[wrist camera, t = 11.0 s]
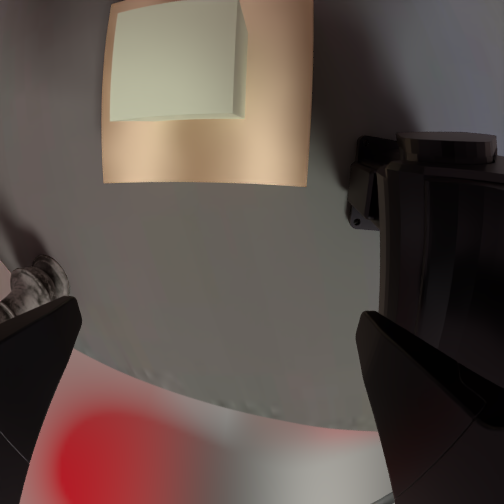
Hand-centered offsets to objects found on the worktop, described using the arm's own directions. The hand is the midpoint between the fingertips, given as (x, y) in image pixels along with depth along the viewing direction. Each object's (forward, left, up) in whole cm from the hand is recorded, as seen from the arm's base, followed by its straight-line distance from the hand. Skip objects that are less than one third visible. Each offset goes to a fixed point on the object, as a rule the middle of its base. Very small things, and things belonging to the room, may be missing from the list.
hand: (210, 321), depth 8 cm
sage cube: (+2, -8, -9) cm, 13 cm away
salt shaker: (+19, +8, -13) cm, 25 cm away
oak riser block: (+3, -8, -13) cm, 16 cm away
